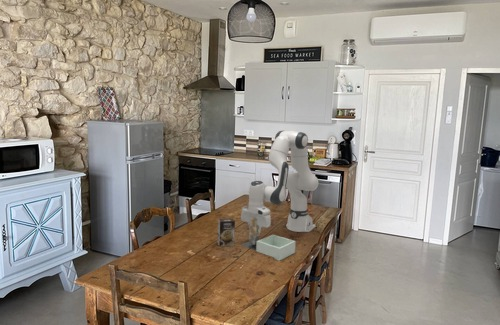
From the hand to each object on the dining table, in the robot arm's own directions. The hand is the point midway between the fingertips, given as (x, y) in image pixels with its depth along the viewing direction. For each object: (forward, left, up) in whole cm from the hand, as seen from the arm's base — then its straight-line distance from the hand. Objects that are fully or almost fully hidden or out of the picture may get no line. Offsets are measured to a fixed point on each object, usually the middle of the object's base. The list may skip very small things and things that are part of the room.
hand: (254, 231), depth 223 cm
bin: (-1, +15, -10) cm, 18 cm away
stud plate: (0, 0, -10) cm, 10 cm away
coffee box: (+11, -13, -10) cm, 20 cm away
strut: (0, 0, -8) cm, 8 cm away
